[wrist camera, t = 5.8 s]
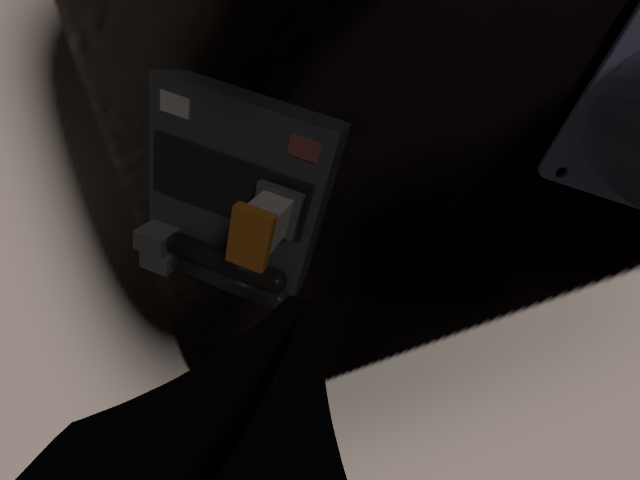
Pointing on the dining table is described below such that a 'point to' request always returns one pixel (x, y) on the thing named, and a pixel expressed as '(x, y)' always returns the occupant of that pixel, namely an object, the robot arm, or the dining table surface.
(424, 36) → the dining table surface
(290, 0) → the dining table surface
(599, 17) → the dining table surface
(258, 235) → the breaker toggle
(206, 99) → the breaker box
